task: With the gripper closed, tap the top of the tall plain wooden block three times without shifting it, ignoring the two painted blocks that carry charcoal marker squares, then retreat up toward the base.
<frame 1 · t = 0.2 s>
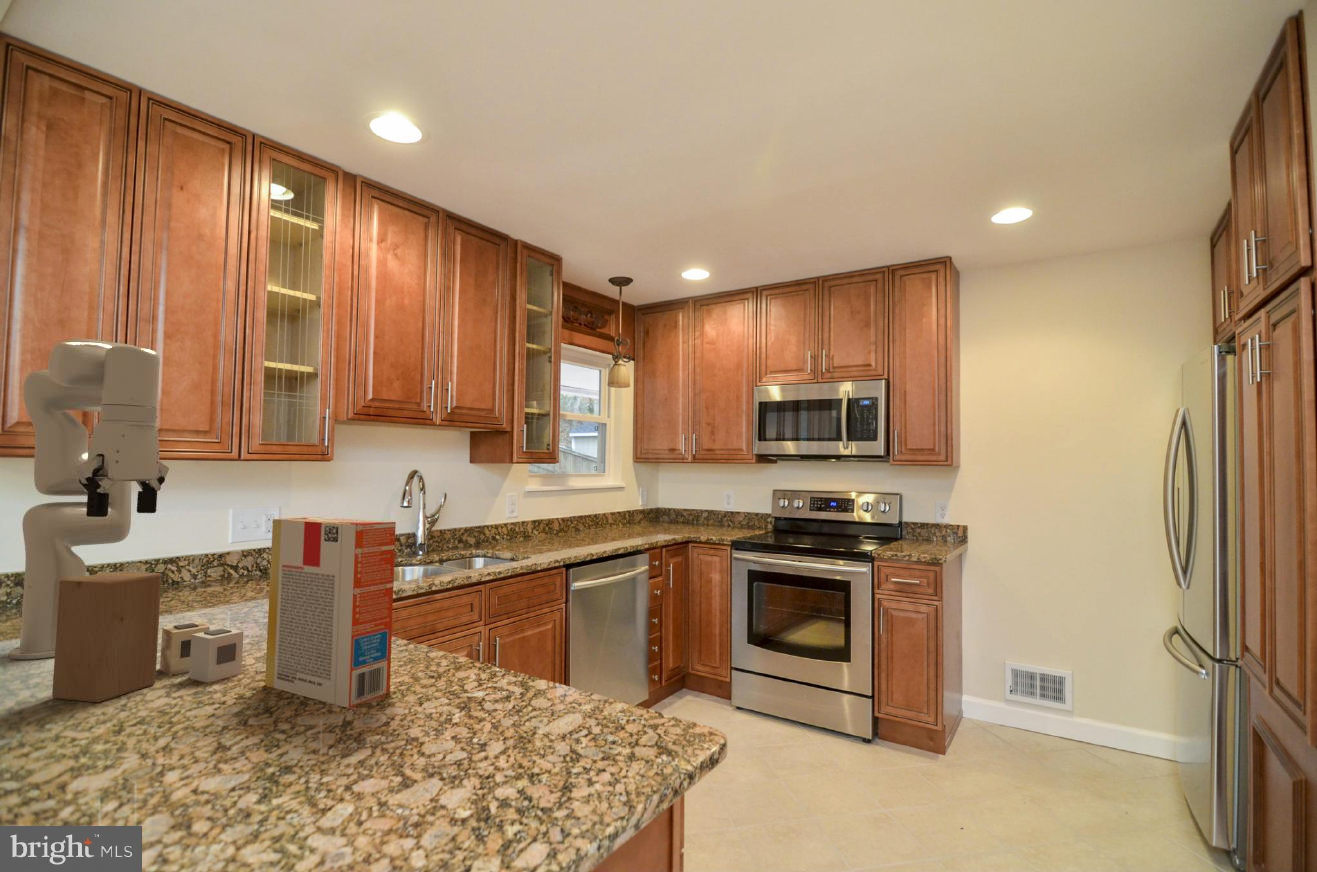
hand: (122, 514, 110), 31 cm above the countertop, fingers open, 9 cm apart
marked grey block: (215, 675, 120), on the countertop
marked beech block: (183, 668, 124), on the countertop
pasta box: (326, 690, 113), on the countertop
wooden block: (105, 692, 110), on the countertop
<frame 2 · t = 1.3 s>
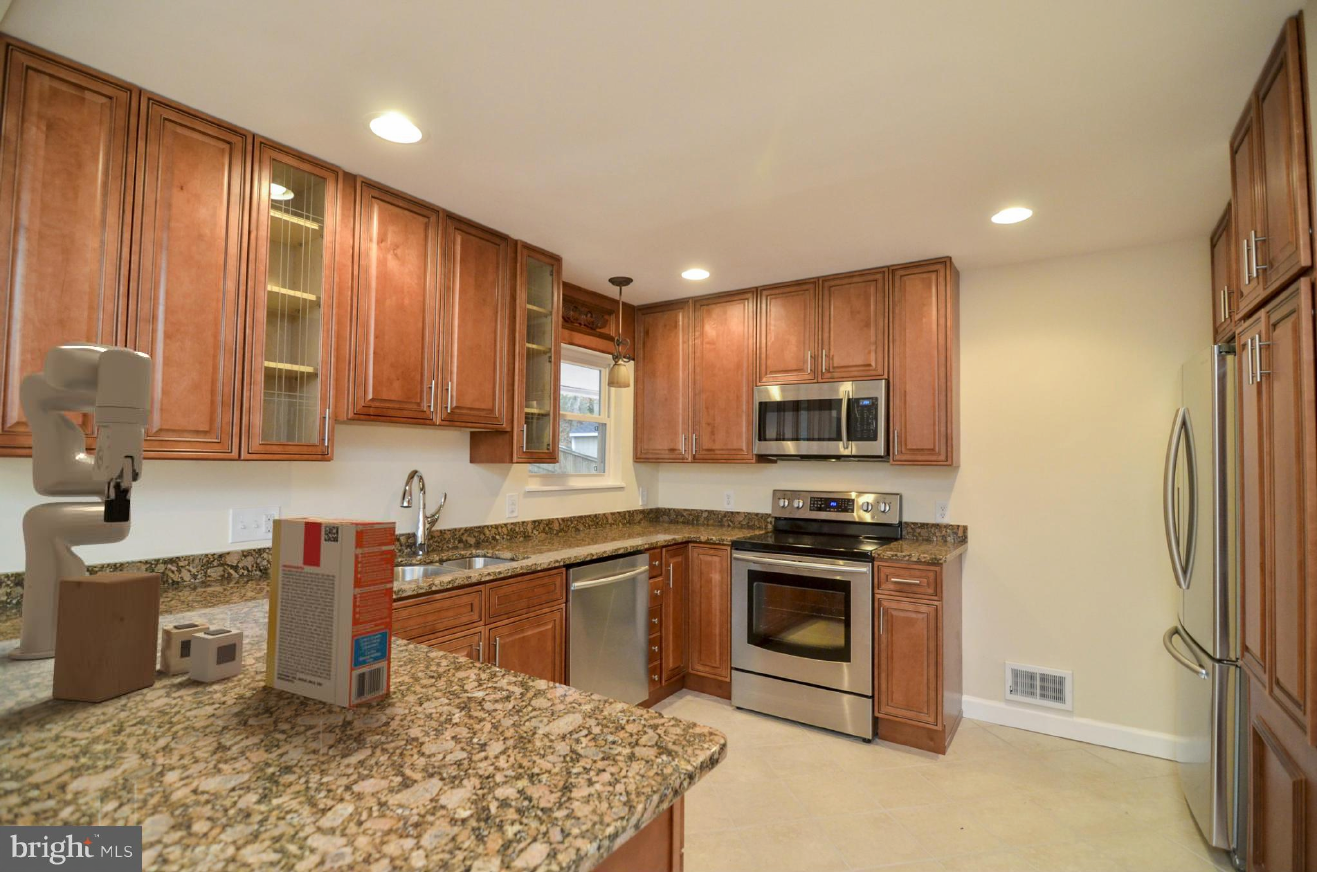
hand: (116, 521, 112), 30 cm above the countertop, fingers closed
nothing on the countertop moved.
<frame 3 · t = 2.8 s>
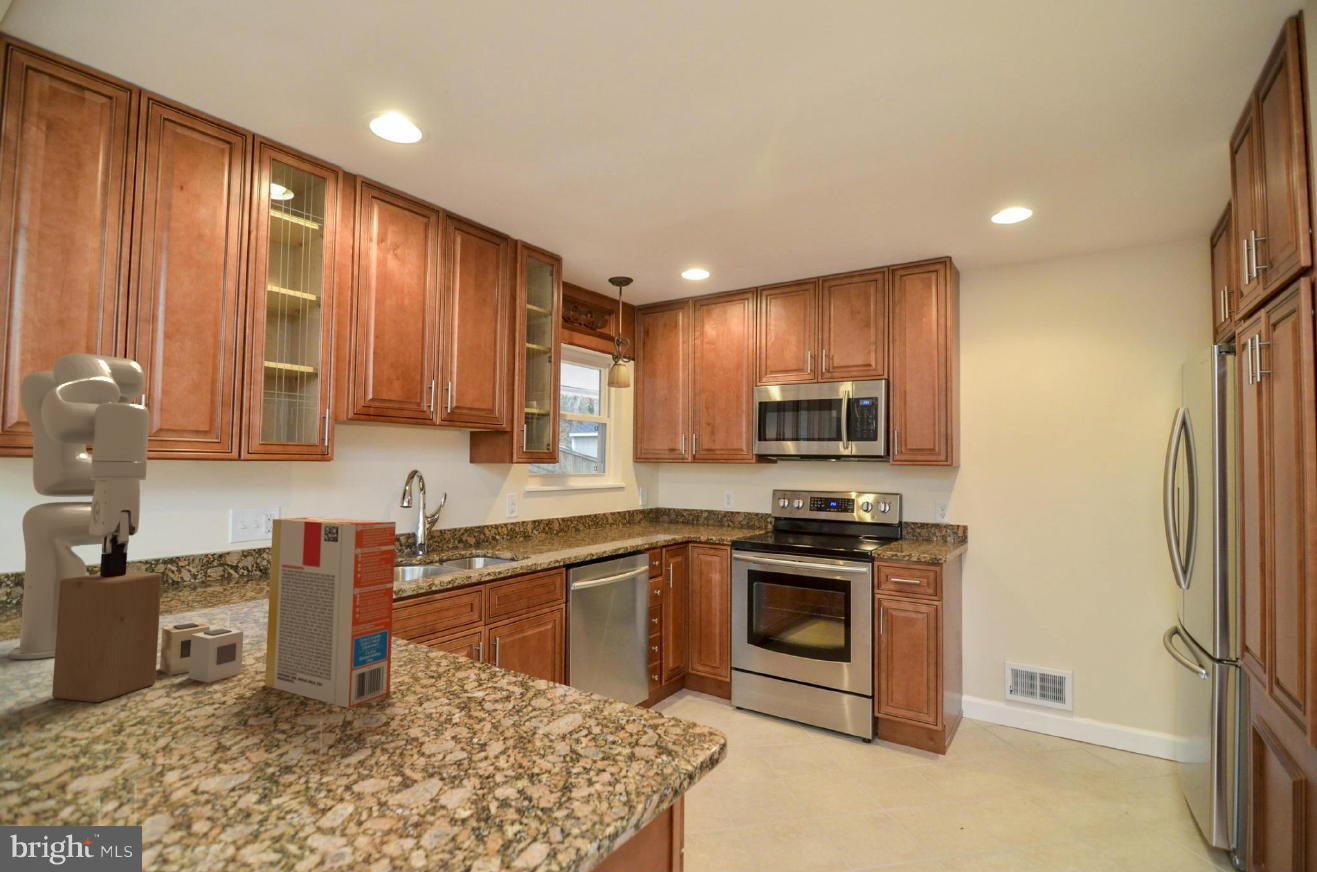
hand: (113, 575, 112), 20 cm above the countertop, fingers closed
wooden block: (105, 692, 110), on the countertop, touching gripper
everything else where it was.
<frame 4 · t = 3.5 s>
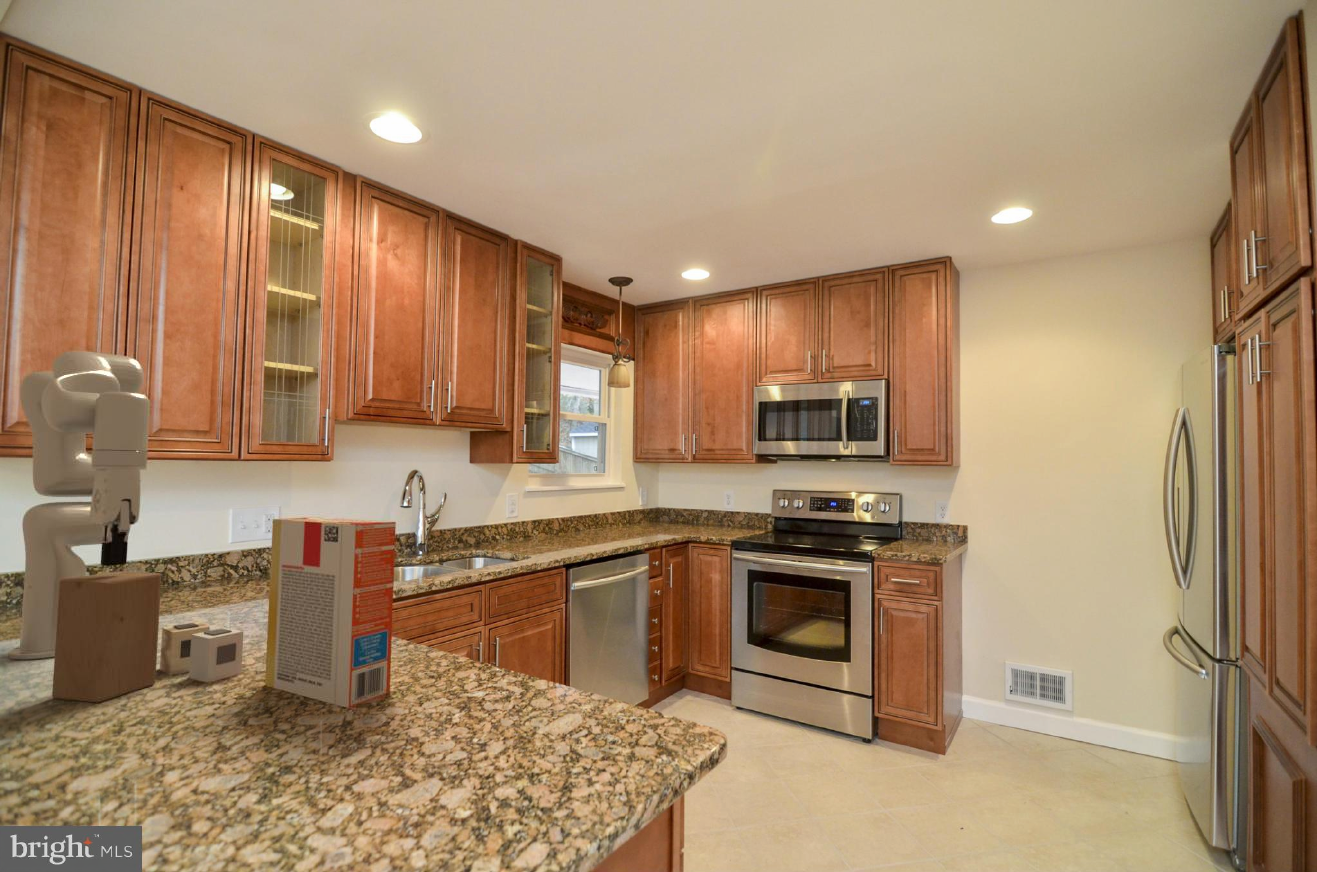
hand: (113, 564, 112), 22 cm above the countertop, fingers closed
wooden block: (105, 692, 110), on the countertop
everything else where it was.
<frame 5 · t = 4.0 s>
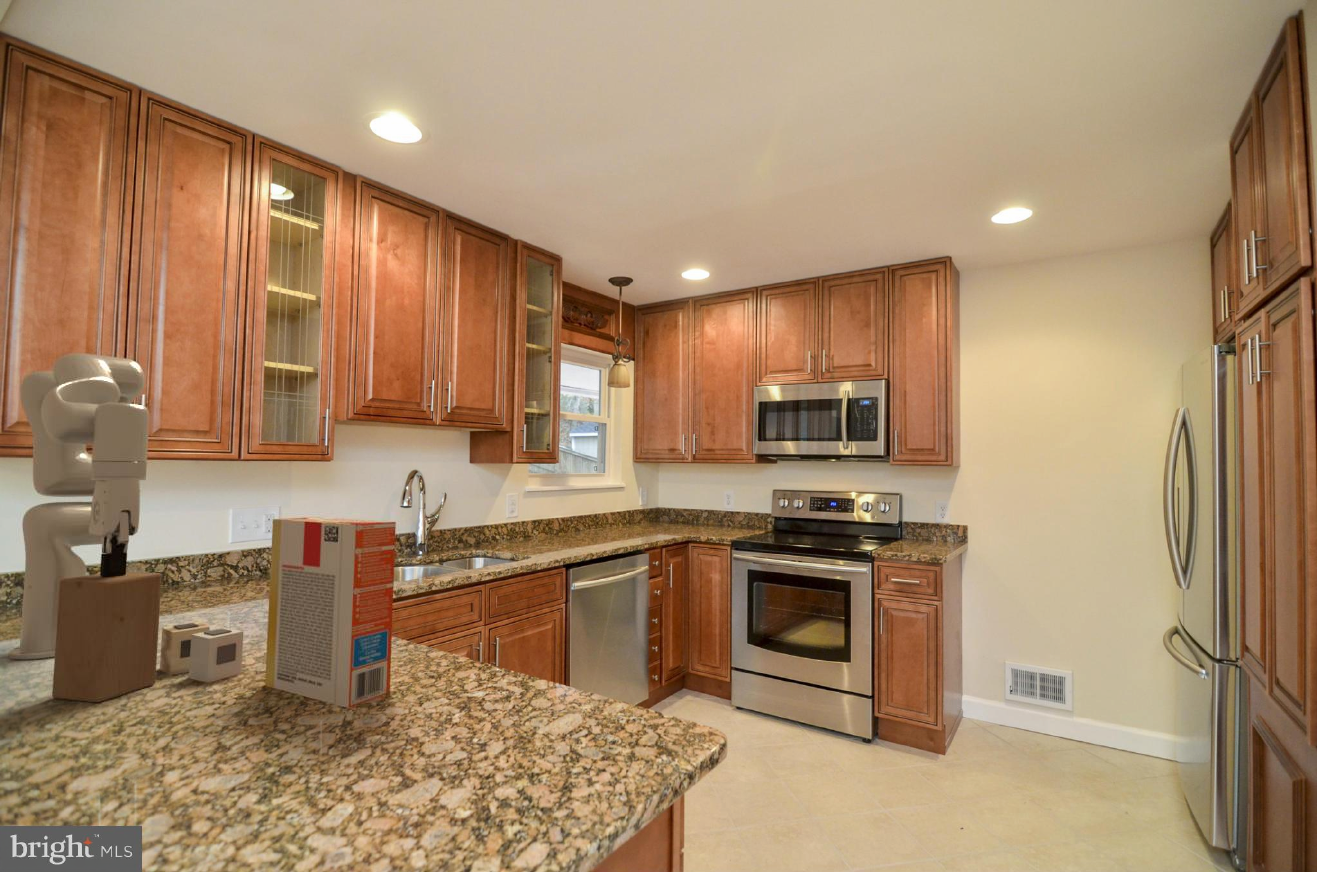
hand: (113, 575, 112), 20 cm above the countertop, fingers closed
wooden block: (105, 692, 110), on the countertop, touching gripper
everything else where it was.
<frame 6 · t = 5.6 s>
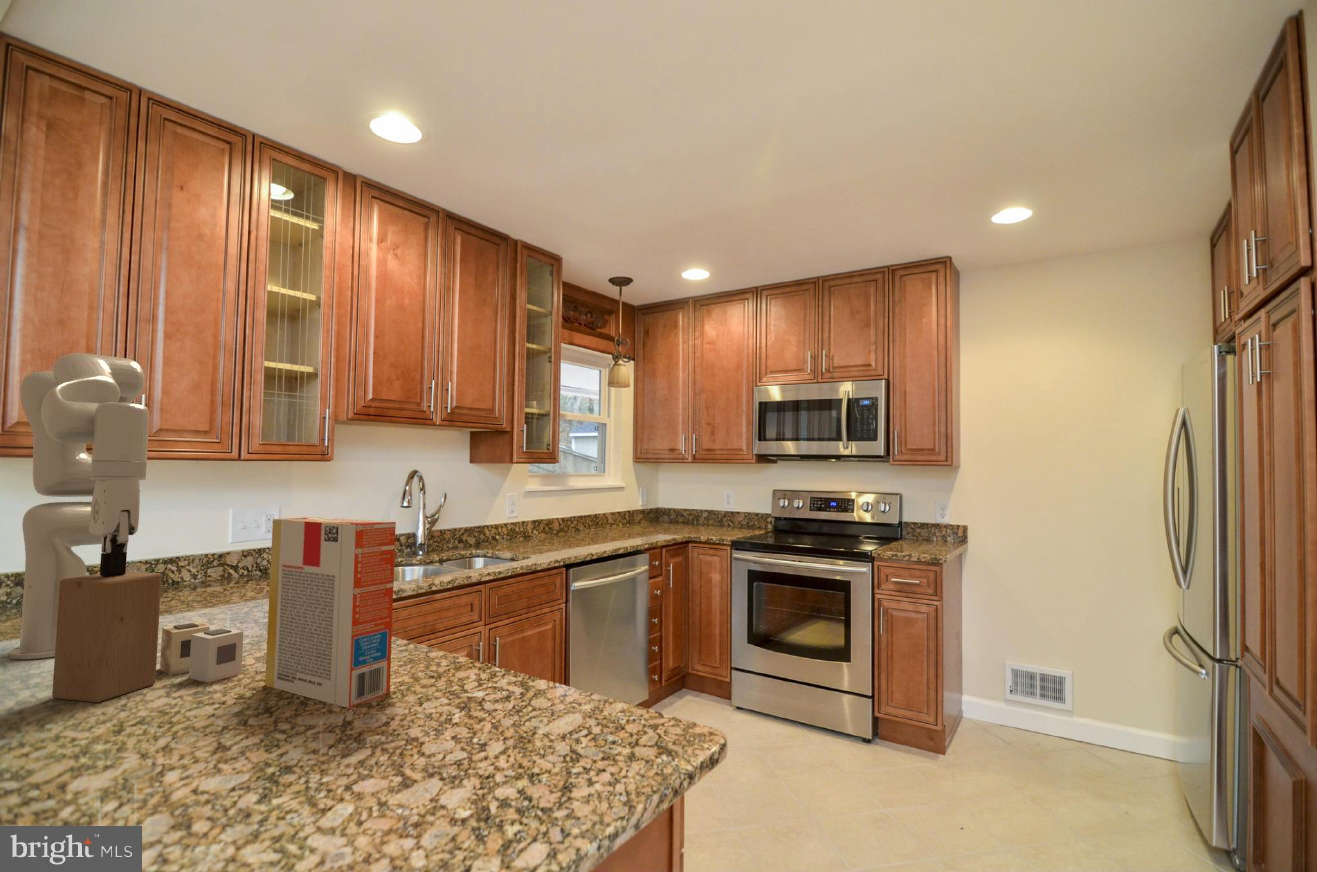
hand: (112, 575, 112), 20 cm above the countertop, fingers closed
wooden block: (105, 692, 110), on the countertop
everything else where it was.
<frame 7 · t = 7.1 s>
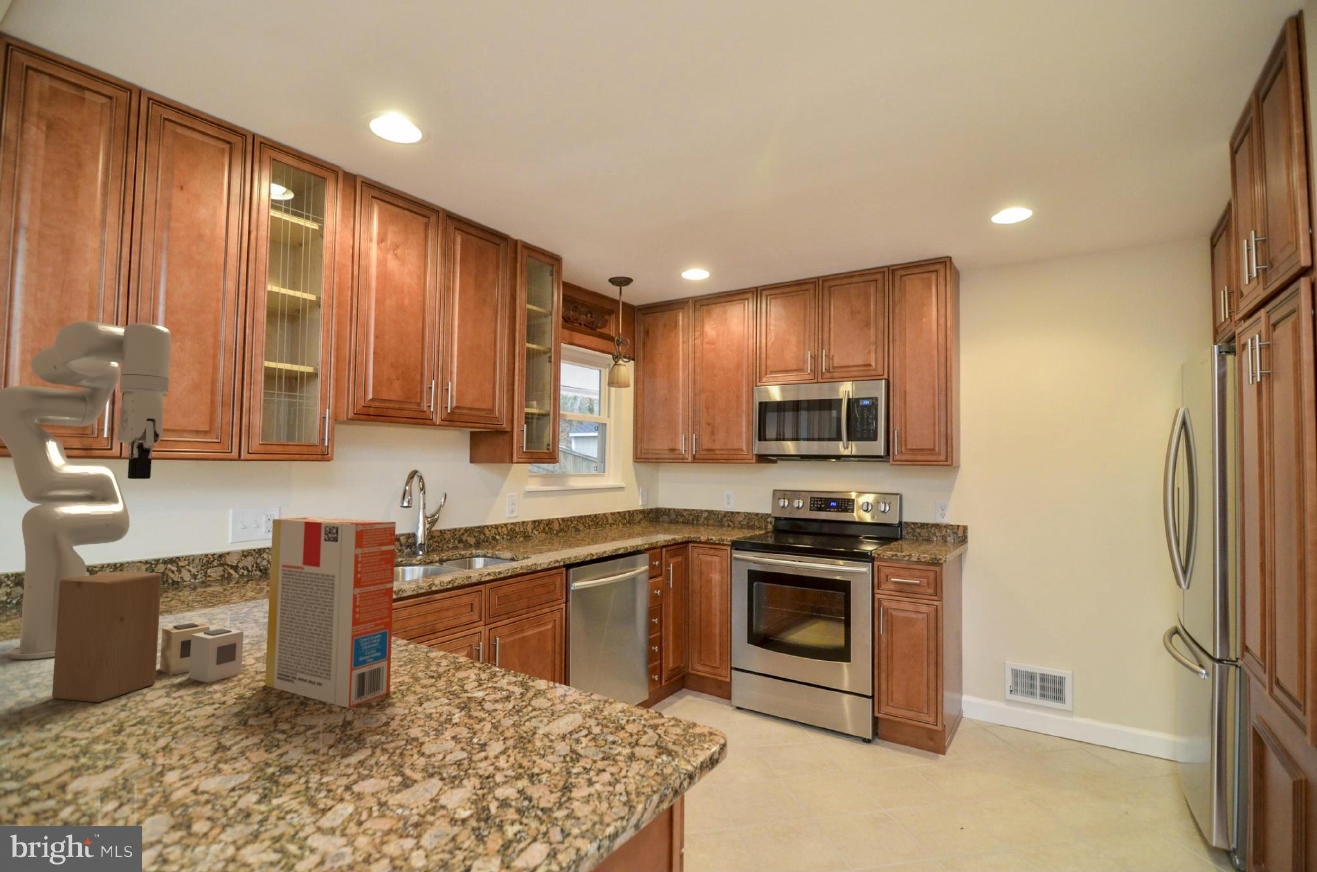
hand: (139, 478, 125), 37 cm above the countertop, fingers closed
nothing on the countertop moved.
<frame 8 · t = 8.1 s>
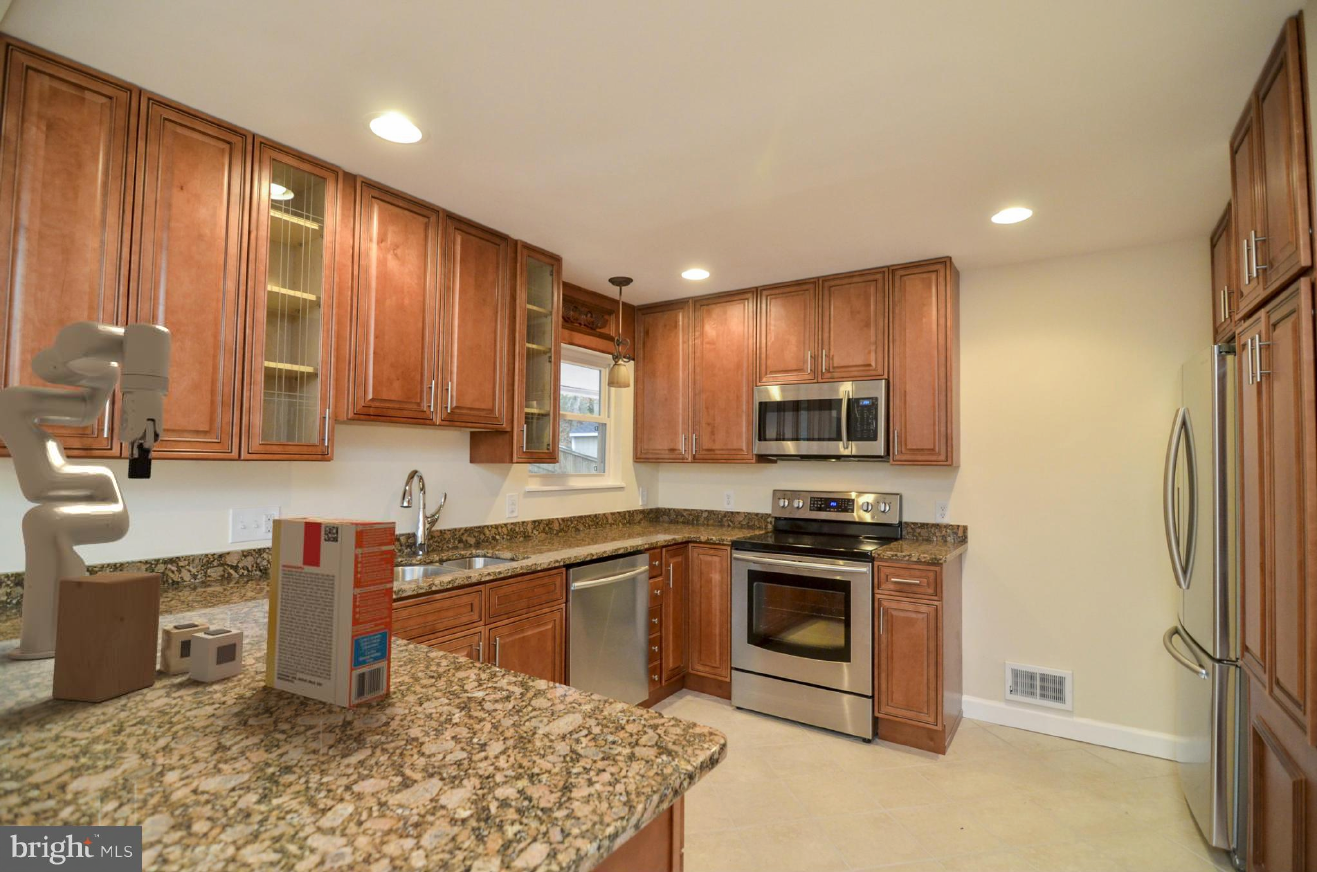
hand: (139, 478, 125), 37 cm above the countertop, fingers closed
nothing on the countertop moved.
at the end: wooden block moved 0.2 cm from its start; wooden block tilted 0°; marked beech block moved 0.1 cm from its start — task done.
